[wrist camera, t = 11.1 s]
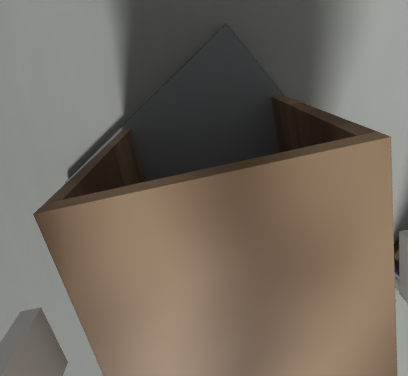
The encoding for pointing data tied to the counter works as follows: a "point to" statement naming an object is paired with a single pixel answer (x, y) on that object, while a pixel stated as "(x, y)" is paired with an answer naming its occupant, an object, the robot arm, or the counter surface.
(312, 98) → the counter surface
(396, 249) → the pill bottle
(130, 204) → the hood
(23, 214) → the counter surface
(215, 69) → the mat
